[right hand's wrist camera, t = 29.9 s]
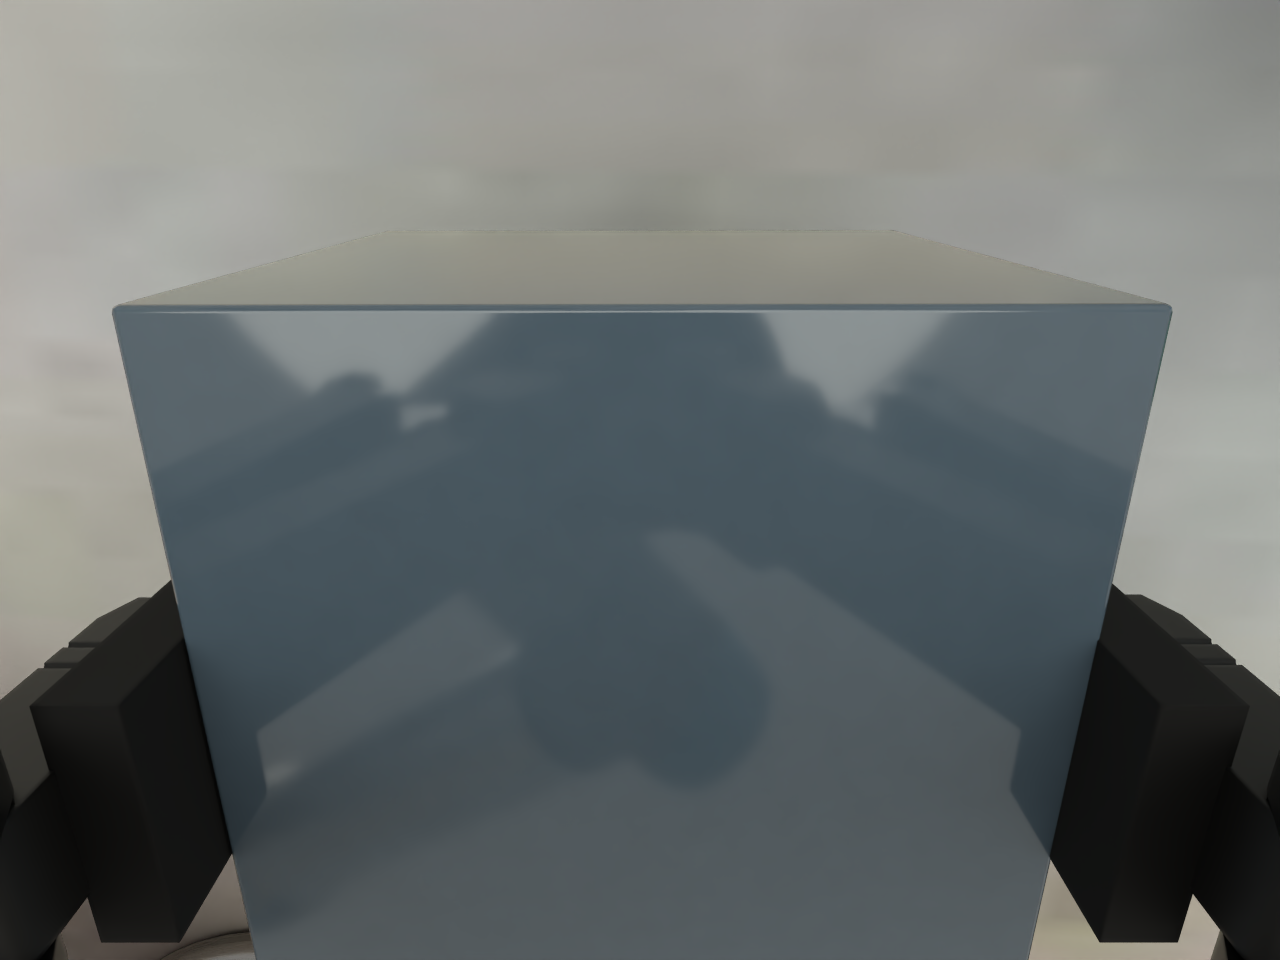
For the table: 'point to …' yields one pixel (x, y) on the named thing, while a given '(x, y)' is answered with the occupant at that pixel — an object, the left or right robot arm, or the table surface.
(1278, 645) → the table surface
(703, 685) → the block
